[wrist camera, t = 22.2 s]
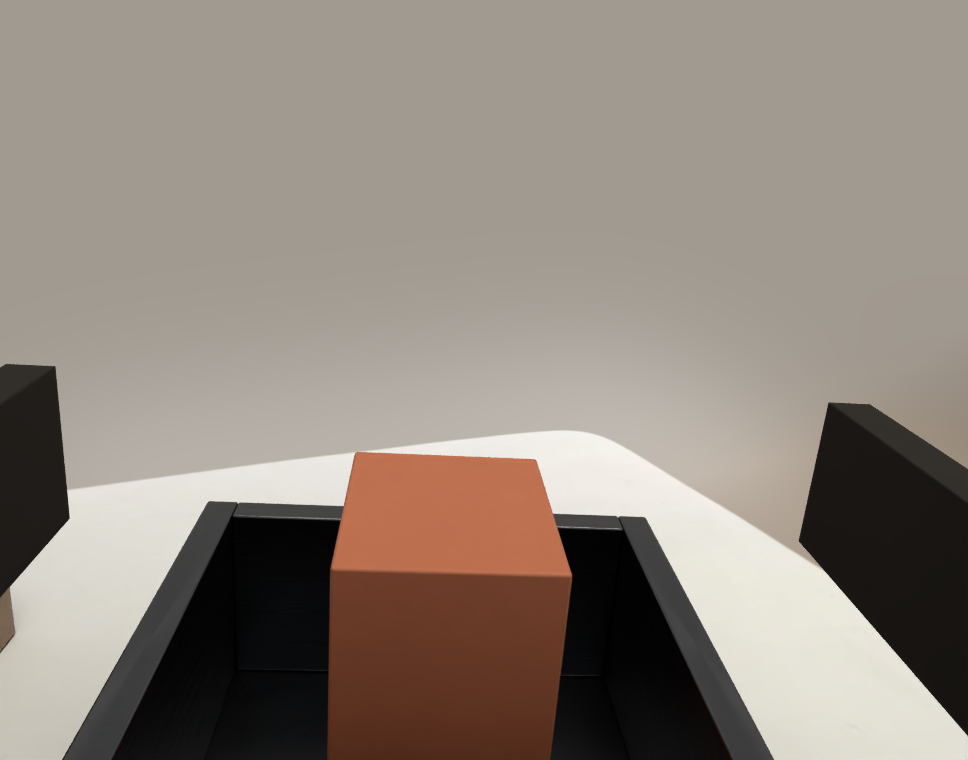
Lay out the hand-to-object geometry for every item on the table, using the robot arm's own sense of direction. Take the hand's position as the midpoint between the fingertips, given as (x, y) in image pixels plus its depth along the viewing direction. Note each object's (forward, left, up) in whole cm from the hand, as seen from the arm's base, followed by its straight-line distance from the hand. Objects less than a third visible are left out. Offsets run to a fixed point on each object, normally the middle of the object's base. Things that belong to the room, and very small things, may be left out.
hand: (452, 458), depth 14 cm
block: (-2, +4, -13) cm, 14 cm away
